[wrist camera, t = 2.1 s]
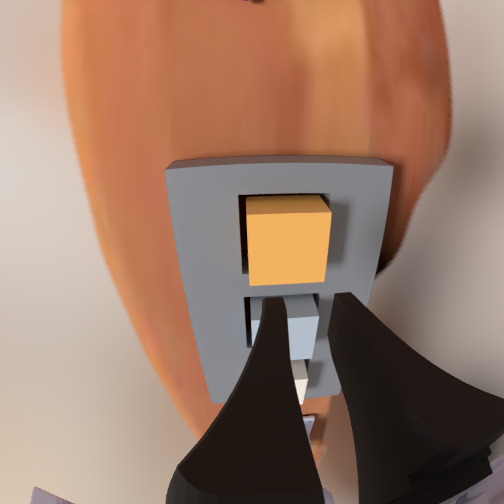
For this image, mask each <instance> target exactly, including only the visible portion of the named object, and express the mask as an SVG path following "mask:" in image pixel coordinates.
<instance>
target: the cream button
mask: <svg viewBox="0 0 504 504" xmlns="http://www.w3.org/2000/svg"><path fill="white" fill-rule="evenodd" d="M291 366H292V371H293V376H294V381H295V385H296V390H297V394H298V399H299V403H300V404H303V400H304V395H305V391H306V386H307V381H308V376H307V371H306V366H305V362H304V359H300V360H291Z"/></svg>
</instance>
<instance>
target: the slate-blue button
mask: <svg viewBox="0 0 504 504" xmlns="http://www.w3.org/2000/svg"><path fill="white" fill-rule="evenodd" d="M266 297H283V299H284V302H285V305H286V309H287V318H288V331H289V346H290V358H291V360H300V359H311V358H312V355H313V350H314V344H315V338H316V333H317V326H318V320H319V314H318V311H317V307H316V304H315V301H314V298H313V295H312V293H310V294H294V295H277V296H256V297H250V306H251V328H252V347H253V344H254V341H255V337H256V334H257V331H258V327H259V323H260V318H261V313H262V300H263V299H264V298H266Z"/></svg>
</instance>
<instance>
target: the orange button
mask: <svg viewBox="0 0 504 504" xmlns="http://www.w3.org/2000/svg"><path fill="white" fill-rule="evenodd" d="M246 214H247V238H248V261H249V284H250V286H259V285H279V284H298V283H315V282H324V279H325V271H326V263H327V255H328V246H329V236H330V226H331V215H332V212H331V211H330V209H329V208H328V207H327V205H326V204H325V202H324V201H323V200H322V198H321V197H320V196H319V195H293V196H257V197H246Z"/></svg>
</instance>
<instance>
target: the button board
mask: <svg viewBox="0 0 504 504" xmlns="http://www.w3.org/2000/svg"><path fill="white" fill-rule="evenodd" d="M393 168H394V166H392V165H390V164H388V163H386V162H384V161H383V160H381V159H379V158H367V157H349V156H320V155H268V156H239V157H220V158H205V159H193V160H182V161H173V162H172V163H171V164H170V165H169V166H168V167H167V168H166V169H165V177H166V185H167V192H168V200H169V206H170V213H171V220H172V226H173V232H174V238H175V244H176V249H177V255H178V260H179V266H180V271H181V276H182V281H183V286H184V291H185V296H186V301H187V305H188V310H189V315H190V319H191V323H192V328H193V332H194V336H195V341H196V345H197V349H198V353H199V357H200V361H201V365H202V368H203V372H204V376H205V380H206V383H207V387H208V391H209V394H210V398H211V401H212V403H226V401H227V400H228V398H229V396H230V394H231V393H232V391H233V389H234V387H235V385H236V383H237V381H238V379H239V377H240V375H241V373H242V371H243V369H244V367H245V364H246V362H247V360H248V357H249V354H250V352H251V349H252V329H246V314H245V298H244V297H256V296H277V295H294V294H310V293H312V295H313V298H314V301H315V304H316V307H317V311H318V314H319V320H318V326H317V333H316V338H315V344H314V350H313V355H312V358H311V359H304V362H305V366H306V371H307V376H308V381H307V386H306V391H305V395H304V399H307V398H316V397H324V396H331V395H337V394H339V392H340V390H341V385H340V382H339V379H338V375H337V372H336V369H335V366H334V363H333V360H332V356H331V351H330V346H329V341H328V336H327V332H328V327H329V321H330V316H331V311H332V305H333V300H334V294H335V293H343V292H351V293H352V294H353V295H354V296H356V297H357V298H358V299H359V300H360V301H361V302H362V303H363V304H364V305H365V306H366V307H367V306H368V302H369V298H370V294H371V290H372V286H373V282H374V278H375V274H376V269H377V265H378V260H379V255H380V251H381V246H382V241H383V235H384V230H385V224H386V218H387V212H388V206H389V199H390V192H391V184H392V176H393ZM280 193H320V197H321V198H322V200H323V201H324V202H325V204H326V205H327V207H328V208H329V209H330V211H331V212H332V215H331V226H330V236H329V246H328V255H327V263H326V271H325V279H324V282H315V283H298V284H279V285H259V286H250V284H249V261H248V256H243V257H242V246H241V227H240V208H239V195H249V194H280Z"/></svg>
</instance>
